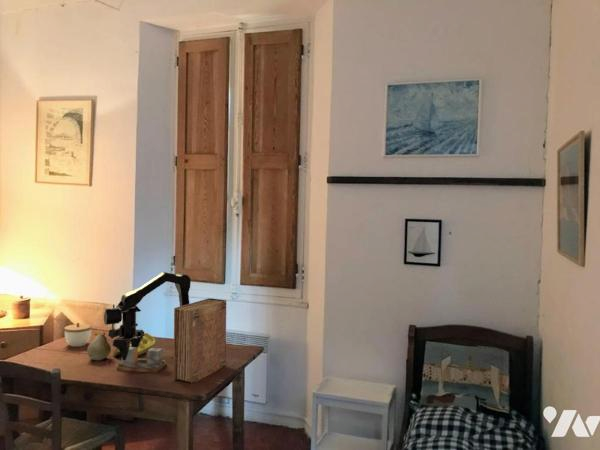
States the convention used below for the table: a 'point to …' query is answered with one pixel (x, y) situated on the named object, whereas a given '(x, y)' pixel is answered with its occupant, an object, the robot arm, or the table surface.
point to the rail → (146, 362)
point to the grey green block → (131, 356)
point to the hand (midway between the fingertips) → (129, 357)
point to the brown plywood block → (199, 339)
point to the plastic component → (141, 345)
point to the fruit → (99, 348)
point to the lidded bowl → (77, 334)
